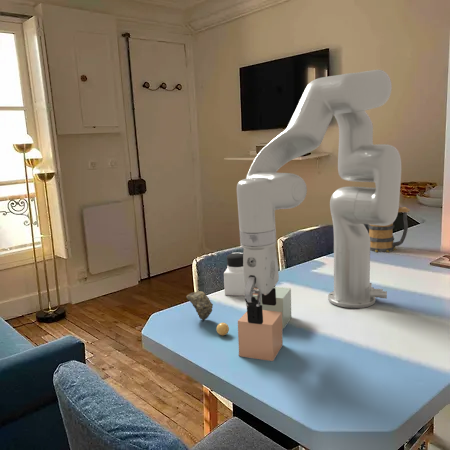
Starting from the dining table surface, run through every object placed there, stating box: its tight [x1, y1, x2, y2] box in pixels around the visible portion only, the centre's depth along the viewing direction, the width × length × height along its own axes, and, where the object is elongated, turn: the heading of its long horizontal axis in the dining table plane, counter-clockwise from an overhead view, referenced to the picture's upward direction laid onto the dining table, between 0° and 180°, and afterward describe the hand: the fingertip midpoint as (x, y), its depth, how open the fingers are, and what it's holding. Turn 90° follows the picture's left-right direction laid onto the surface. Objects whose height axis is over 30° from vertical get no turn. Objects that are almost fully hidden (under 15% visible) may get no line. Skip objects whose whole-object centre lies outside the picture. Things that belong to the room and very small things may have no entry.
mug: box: [366, 206, 411, 253], centre depth 172 cm, size 13×17×20 cm
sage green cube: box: [253, 286, 292, 330], centre depth 112 cm, size 8×8×8 cm
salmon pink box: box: [237, 310, 284, 362], centre depth 97 cm, size 8×8×8 cm
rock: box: [186, 290, 214, 321], centre depth 114 cm, size 7×8×4 cm
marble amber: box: [215, 322, 230, 336], centre depth 106 cm, size 3×3×3 cm
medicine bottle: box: [223, 252, 245, 297], centre depth 135 cm, size 7×7×12 cm
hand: (262, 313), depth 96 cm, fingers open, 9 cm apart
